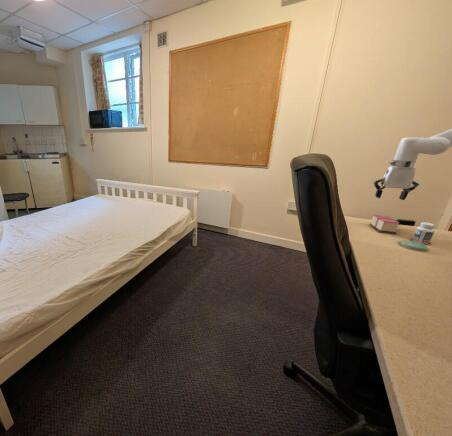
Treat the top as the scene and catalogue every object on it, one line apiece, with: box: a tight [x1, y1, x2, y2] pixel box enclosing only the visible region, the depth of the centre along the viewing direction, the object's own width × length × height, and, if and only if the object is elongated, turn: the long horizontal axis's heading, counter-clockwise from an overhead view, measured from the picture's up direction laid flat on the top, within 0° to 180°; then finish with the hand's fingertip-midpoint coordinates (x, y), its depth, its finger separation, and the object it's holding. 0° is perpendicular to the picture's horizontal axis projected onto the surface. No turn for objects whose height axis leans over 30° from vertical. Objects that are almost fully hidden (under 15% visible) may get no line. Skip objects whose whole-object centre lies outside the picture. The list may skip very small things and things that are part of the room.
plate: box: [399, 239, 428, 252], centre depth 97 cm, size 8×8×1 cm
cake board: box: [369, 222, 397, 235], centre depth 115 cm, size 6×11×1 cm, turn 160°
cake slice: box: [370, 214, 393, 226], centre depth 117 cm, size 6×4×5 cm
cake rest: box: [376, 218, 400, 233], centre depth 112 cm, size 6×4×5 cm
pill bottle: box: [412, 221, 435, 245], centre depth 100 cm, size 5×5×9 cm
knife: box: [375, 218, 417, 227], centre depth 113 cm, size 14×2×5 cm, turn 70°
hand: (389, 198), depth 112 cm, fingers open, 9 cm apart
